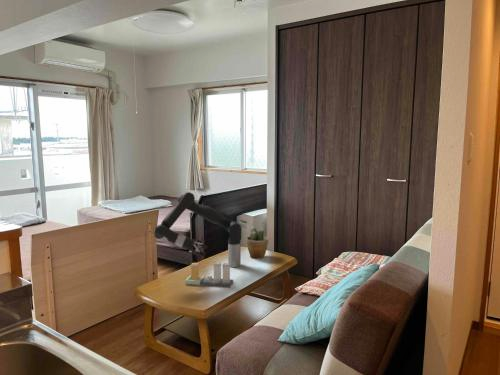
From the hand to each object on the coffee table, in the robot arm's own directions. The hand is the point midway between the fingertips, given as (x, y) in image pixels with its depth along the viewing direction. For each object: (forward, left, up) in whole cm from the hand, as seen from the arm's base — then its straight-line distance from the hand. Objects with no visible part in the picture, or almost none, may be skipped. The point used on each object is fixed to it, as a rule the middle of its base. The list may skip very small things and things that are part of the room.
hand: (206, 251), depth 248 cm
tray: (+2, -7, -21) cm, 22 cm away
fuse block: (+2, +8, -21) cm, 23 cm away
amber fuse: (+2, -7, -20) cm, 22 cm away
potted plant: (-60, +23, -21) cm, 68 cm away
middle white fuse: (+2, +8, -19) cm, 21 cm away
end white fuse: (+2, +14, -19) cm, 24 cm away
